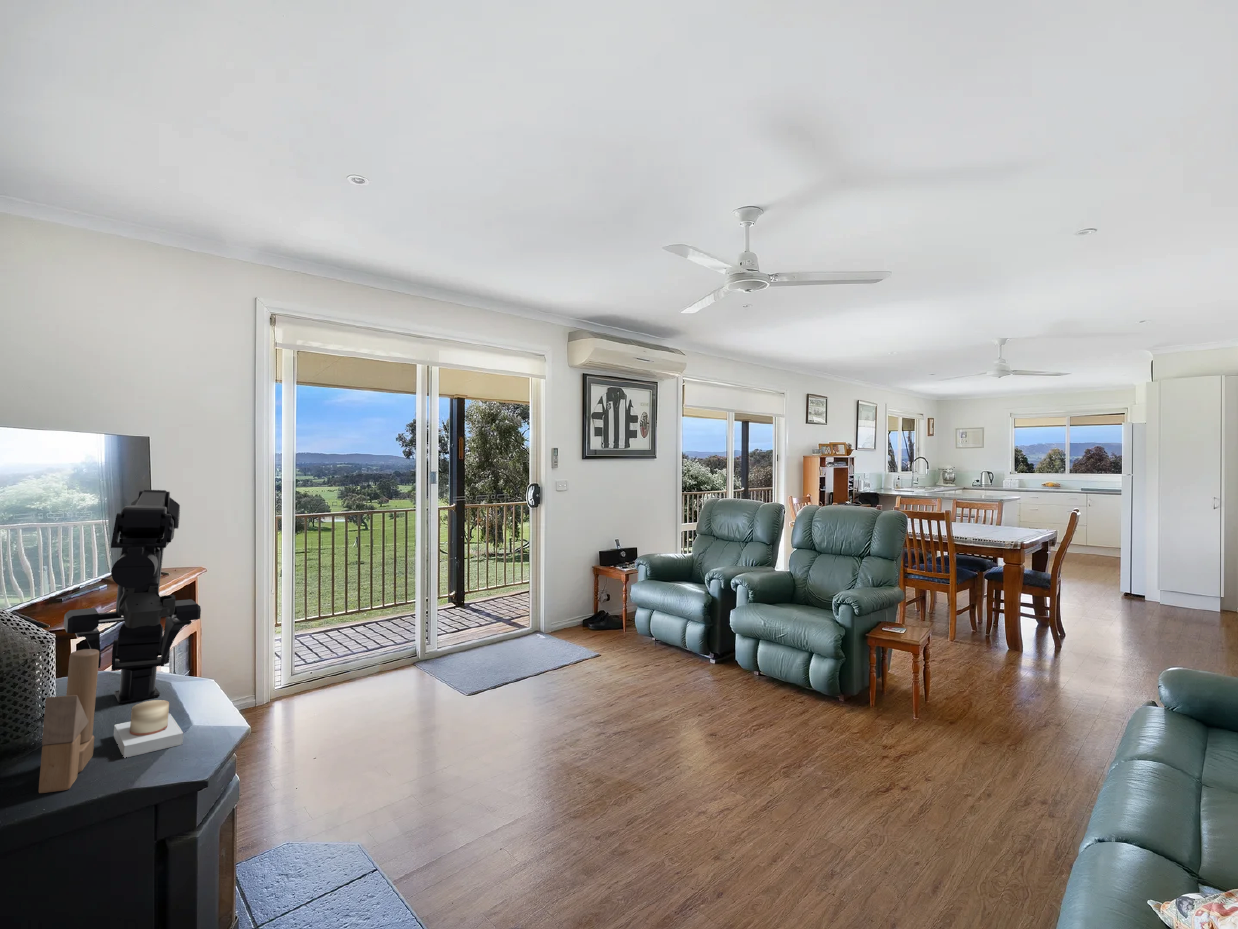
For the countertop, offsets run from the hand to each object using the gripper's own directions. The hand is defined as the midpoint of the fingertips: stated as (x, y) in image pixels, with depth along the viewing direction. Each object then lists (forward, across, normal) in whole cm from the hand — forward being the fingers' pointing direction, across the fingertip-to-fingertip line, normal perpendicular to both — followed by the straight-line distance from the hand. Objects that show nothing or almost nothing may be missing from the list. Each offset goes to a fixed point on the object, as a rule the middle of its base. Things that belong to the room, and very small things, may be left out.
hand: (131, 662), depth 109 cm
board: (+12, +2, -7) cm, 14 cm away
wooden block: (+12, -9, -13) cm, 20 cm away
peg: (+12, +2, -7) cm, 14 cm away
